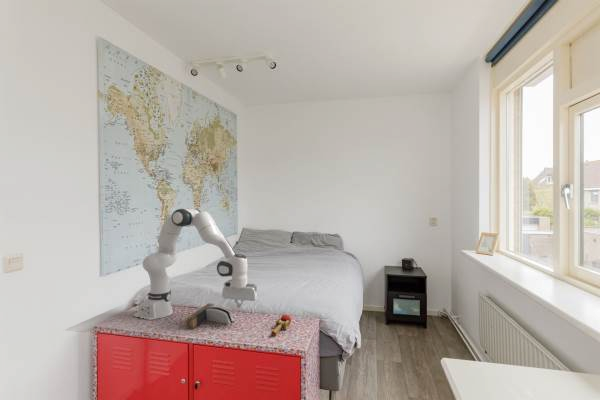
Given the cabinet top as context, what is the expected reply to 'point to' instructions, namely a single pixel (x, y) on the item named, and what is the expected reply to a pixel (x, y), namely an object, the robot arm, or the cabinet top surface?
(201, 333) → the cabinet top surface
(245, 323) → the cabinet top surface
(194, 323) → the frame block
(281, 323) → the kendama
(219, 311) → the grey rounded case
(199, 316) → the mounting plate
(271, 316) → the cabinet top surface
